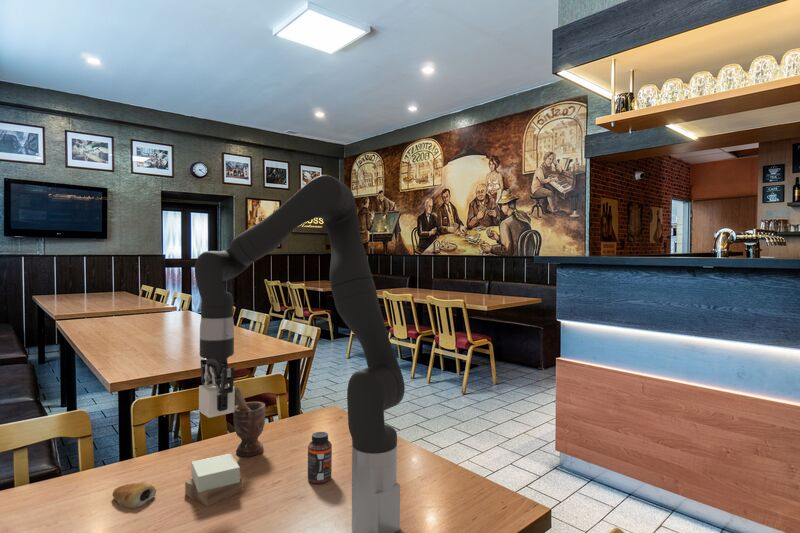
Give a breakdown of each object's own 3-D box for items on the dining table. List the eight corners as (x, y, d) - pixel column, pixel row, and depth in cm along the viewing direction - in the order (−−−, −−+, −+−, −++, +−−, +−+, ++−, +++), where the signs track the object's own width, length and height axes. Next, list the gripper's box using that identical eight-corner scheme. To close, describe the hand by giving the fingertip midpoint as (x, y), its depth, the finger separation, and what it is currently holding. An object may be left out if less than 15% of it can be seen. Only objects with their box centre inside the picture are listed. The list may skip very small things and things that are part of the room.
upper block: (239, 482, 109) (239, 467, 109) (198, 492, 104) (198, 476, 104) (230, 467, 117) (230, 453, 116) (191, 476, 112) (191, 461, 112)
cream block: (234, 412, 110) (234, 386, 110) (208, 417, 106) (209, 391, 106) (223, 405, 115) (223, 381, 114) (198, 411, 110) (199, 385, 110)
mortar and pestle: (258, 462, 126) (258, 389, 125) (226, 463, 125) (226, 389, 125) (267, 445, 137) (268, 377, 137) (237, 446, 137) (237, 378, 136)
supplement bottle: (326, 486, 113) (326, 439, 113) (303, 483, 115) (303, 437, 114) (334, 474, 119) (335, 430, 119) (313, 472, 121) (313, 428, 120)
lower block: (242, 492, 111) (242, 477, 111) (207, 508, 104) (207, 493, 104) (219, 481, 116) (219, 467, 116) (185, 496, 109) (185, 481, 109)
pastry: (103, 503, 105) (103, 486, 105) (130, 489, 112) (130, 473, 112) (134, 511, 102) (134, 493, 102) (160, 496, 108) (160, 480, 108)
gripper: (246, 338, 107) (245, 411, 108) (220, 330, 118) (219, 396, 118) (213, 342, 102) (212, 418, 102) (189, 333, 112) (188, 402, 113)
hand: (216, 406), depth 110 cm, fingers closed on cream block, 6 cm apart
